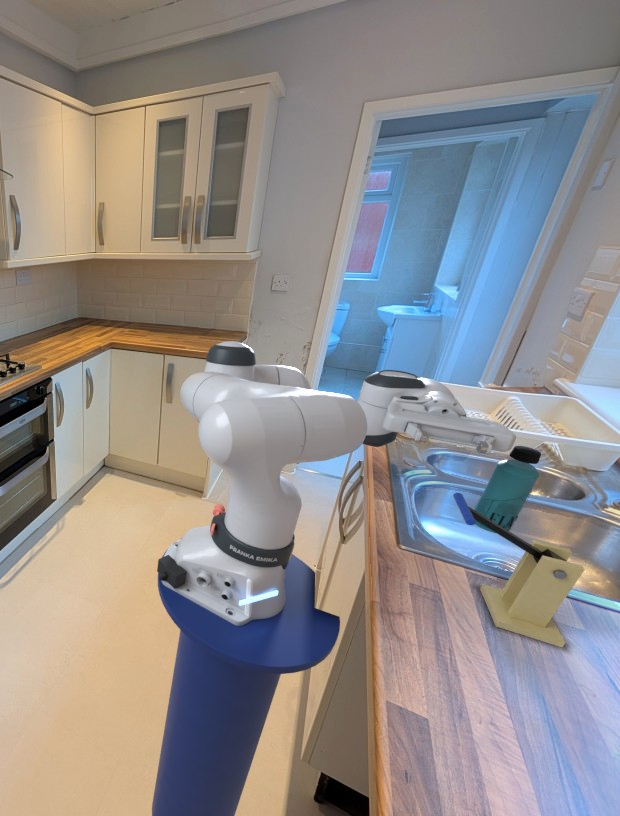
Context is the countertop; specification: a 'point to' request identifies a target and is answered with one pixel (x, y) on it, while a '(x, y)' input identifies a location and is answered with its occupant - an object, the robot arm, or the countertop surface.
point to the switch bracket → (534, 594)
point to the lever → (500, 530)
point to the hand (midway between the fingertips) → (453, 444)
